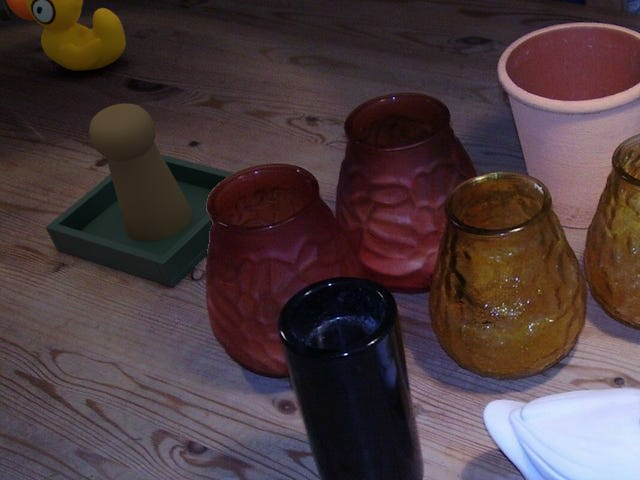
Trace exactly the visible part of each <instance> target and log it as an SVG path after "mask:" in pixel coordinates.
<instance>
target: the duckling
mask: <svg viewBox="0 0 640 480" xmlns="http://www.w3.org/2000/svg"><path fill="white" fill-rule="evenodd" d="M5 2H6V5H7V7H8V8H9V9H10V10H11V11H12V13H13V14H14V15H16V16H17V17H18V18H21V19H22V20H26V21H36V23H38V24H39V25H40V26H41V27H42V28H43V30H42V32H41V37H40V44H41V48H42V49H43V52H44V53H45V55H46V56H47V57H48V58H49V59H51V60H52V61H53V62H54V63H56V64H58V65H60V66H61V67H63V68H65V69H67V70H70V71H74V72H81V71H91V70H98V69H103V68H105V67H107V66H109V65H111V64H112V63H114V62H116V61H117V60H118V59H119V58H120V57H121V56H122V54H123V52H124V51H125V48H126V45H127V43H126V42H127V39H126V34H125V30H124V27H123V24H122V22H121V20H120V18H119V17H118V15H116V14H115V13H114V12H113V11H112V10H109V9H108V8H104V7H100V8H98V9H96V10H95V11H94V13H93V16H92V28H89V27H87V26H85V25H82V24H80V23H78V21H79V19H80V17H81V14H82V8H83V4H84V0H5Z"/></svg>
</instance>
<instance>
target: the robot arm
mask: <svg viewBox="0 0 640 480" xmlns="http://www.w3.org/2000/svg"><path fill="white" fill-rule="evenodd" d="M11 20H12V18H11V15H10V11H9V9H8V5H7V3H6V0H0V21H1V22H2V23H3V22H7V21H11Z"/></svg>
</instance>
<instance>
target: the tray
mask: <svg viewBox="0 0 640 480" xmlns="http://www.w3.org/2000/svg"><path fill="white" fill-rule="evenodd" d="M161 155H162V157H163V159H164V160H165V162H166V164H167V166H168V168H169V169H170V171H171V173H172V175H173V176H174V178H175V180H176V182H177V184H178V185H179V187H180V189H181V191H182V192H183V194H184V196H185V198H186V200H187V201H188V203H189V205H190V207H191V209H192V212H193V214H192V219H191V220H190V222H189V223H188V225H187V226H186V227H185V228H184V229H182V230H181V231H180V232H178V233H176V234H175V235H173V236H171V237H168V238H165V239H162V240H157V241H150V242H148V241H138V240H136V239H133V238H131V237H130V236H129V235H128V234H127V232H126V228H125V225H124V221H123V217H122V214H121V210H120V206H119V202H118V199H117V195H116V191H115V188H114V184H113V180H112V177H111V173H110V174H108V175H107V176H106V177H105V178H104V179H102V180H101V182H99V183H98V184H97V185H95V186H94V187H92V188H91V189H90V190H89V191H88V192H86V193H85V194H84V195H83V196H81V198H79V199H78V200H77V201H75V203H73V204H71V206H70V207H68V208H67V209H66V210H65V211H63V212H62V213H61V214H59V216H57V217H56V218H55V219H54V220H52V221H51V222H50V223H48V224H47V225H46V226H45V229H46V231H47V233H48V236H49V237H50V239H51V241H52V243H53V245H54V246H55V247H54V248H55V249H56V250H57V251H59V252H61V253H65V254H68V255H72V256H74V257H78V258H80V259H84V260H87V261H89V262H93V263H97V264H99V265H103V266H105V267H109V268H112V269H115V270H117V271H120V272H124V273H126V274H130V275H134V276H136V277H140V278H143V279H146V280H149V281H153V282H156V283H158V284H161V285H164V286H168V287H171V288H174V287H175V286H176V285H177V284H178V283H180V281H181V280H182V279H184V277H185V276H186V275H188V273H189V272H191V271H192V270H193V268H195V267H196V266H197V265H198V264H199V263H200V262H201V261H202V260H203V259H204V258H205V257H206V256H207V255H208V254H207V249H208V244H209V231H210V228H211V226H212V221H211V219H210V217H209V215H208V213H207V211H206V202H207V198H208V195H209V194H210V192H211V191H212V189H213V188H214V187H215V186H216V185H217V184H218V183H219V182H221V181H222V180H224V179H225V178H226V177H228V176H229V175H231V174H233V173H234V172H232V171H228V170H224V169H219V168H216V167H212V166H209V165H204V164H200V163H196V162H192V161H189V160H185V159H180V158H177V157H173V156H169V155H165V154H161ZM206 254H207V255H206Z"/></svg>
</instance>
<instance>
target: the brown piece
mask: <svg viewBox="0 0 640 480" xmlns="http://www.w3.org/2000/svg"><path fill="white" fill-rule="evenodd" d="M88 132H89V138H90V141H91V143H92V145H93V147H94V148H95V150H96V151H97V152H98V153H99V154H100V155H102V157H105V158H106V162H107V164H108V169H109V172H110V174H111V177H112V180H113V184H114V188H115V191H116V195H117V199H118V202H119V206H120V210H121V214H122V217H123V221H124V225H125V228H126V232H127V234H128V235H129V236H130V237H131V238H133V239H136V240H138V241H148V242H150V241H157V240H162V239H165V238H168V237H171V236H173V235H175V234H176V233H178V232H180V231H181V230H182V229H184V228H185V227H186V226H187V225H188V223H189V222H190V220H191V219H192V214H193V212H192V209H191V207H190V205H189V203H188V201H187V200H186V198H185V196H184V194H183V192H182V191H181V189H180V187H179V185H178V184H177V182H176V180H175V178H174V176H173V175H172V173H171V171H170V169H169V168H168V166H167V164H166V162H165V160H164V159H163V157H162V155H163V154H162V153H161V151H160V149H159V148H158V146H157V145H156V143H155V139H156V135H157V133H156V126H155V124H154V121H153V118H152V116H151V114H150V113H149V112H148V111H147V110H146V109H144V108H143V107H141V106H140V105H138V104H135V103H116V104H113V105H110V106H108V107H107V106H106V107H105V108H103V109H102V110H100V111H99V112H97V113H96V114H95V115H94V117H93V118H92V119H91V121H90V123H89V129H88Z"/></svg>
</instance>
